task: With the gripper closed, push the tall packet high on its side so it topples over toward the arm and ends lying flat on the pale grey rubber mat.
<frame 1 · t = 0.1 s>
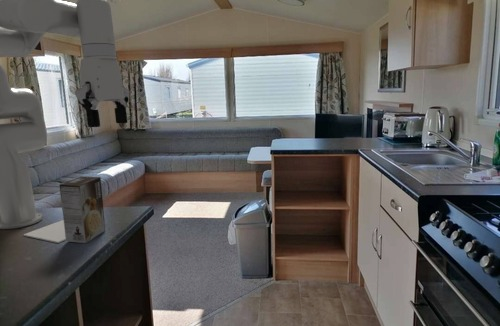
hand: (108, 125, 91), 31 cm above the kitchen counter, tool pointing down, fingers open, 9 cm apart
mat: (63, 230, 108), on the kitchen counter
coffee box: (86, 236, 102), on the kitchen counter, touching mat
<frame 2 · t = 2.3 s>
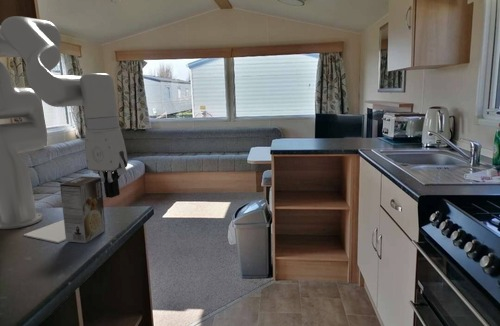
hand: (112, 196, 94), 13 cm above the kitchen counter, tool pointing down, fingers closed
nothing on the kitchen counter moved.
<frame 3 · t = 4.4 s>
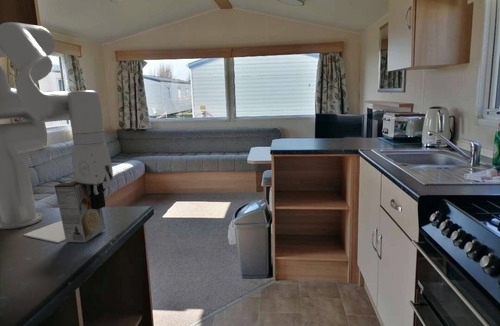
hand: (98, 207, 97), 9 cm above the kitchen counter, tool pointing down, fingers closed
coffee box: (86, 236, 102), on the kitchen counter, touching gripper, mat
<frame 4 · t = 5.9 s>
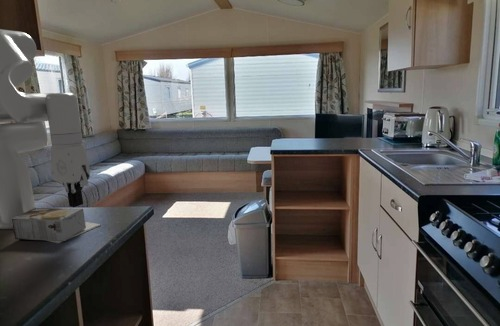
hand: (76, 205, 101), 9 cm above the kitchen counter, tool pointing down, fingers closed
coffee box: (75, 224, 102), point 4 cm above the kitchen counter, touching mat
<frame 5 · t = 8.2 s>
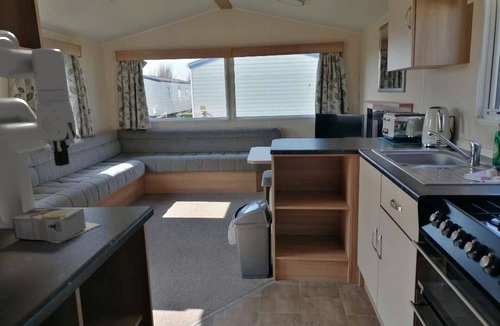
hand: (62, 164, 100), 20 cm above the kitchen counter, tool pointing down, fingers closed
nothing on the kitchen counter moved.
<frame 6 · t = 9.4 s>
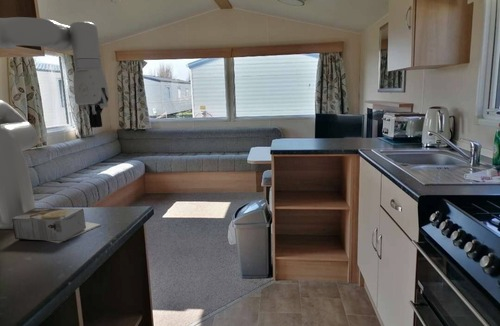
hand: (96, 127, 113), 29 cm above the kitchen counter, tool pointing down, fingers closed
nothing on the kitchen counter moved.
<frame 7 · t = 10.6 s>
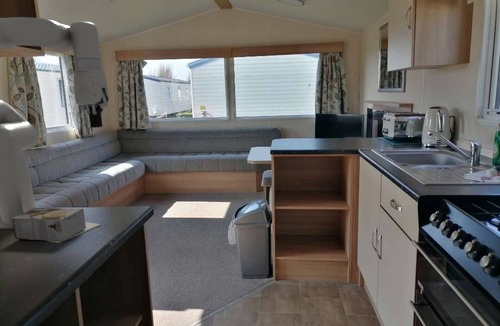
hand: (96, 127, 113), 29 cm above the kitchen counter, tool pointing down, fingers closed
nothing on the kitchen counter moved.
at the end: coffee box tilted 90°; coffee box touching mat; coffee box inside the target area (6.2 cm from its centre), point 3.6 cm above the kitchen counter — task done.
